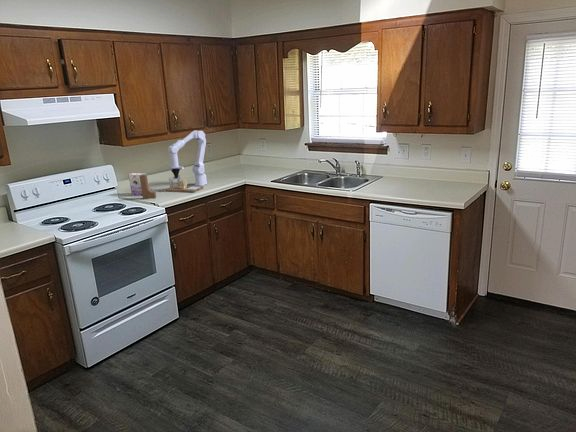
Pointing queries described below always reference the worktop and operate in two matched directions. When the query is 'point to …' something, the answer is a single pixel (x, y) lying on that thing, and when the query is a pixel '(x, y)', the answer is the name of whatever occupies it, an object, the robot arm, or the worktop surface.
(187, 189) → the pad
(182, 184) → the birch block
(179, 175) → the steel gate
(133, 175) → the candy box
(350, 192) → the worktop surface
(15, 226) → the worktop surface
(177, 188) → the puzzle board
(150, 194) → the brown boot
